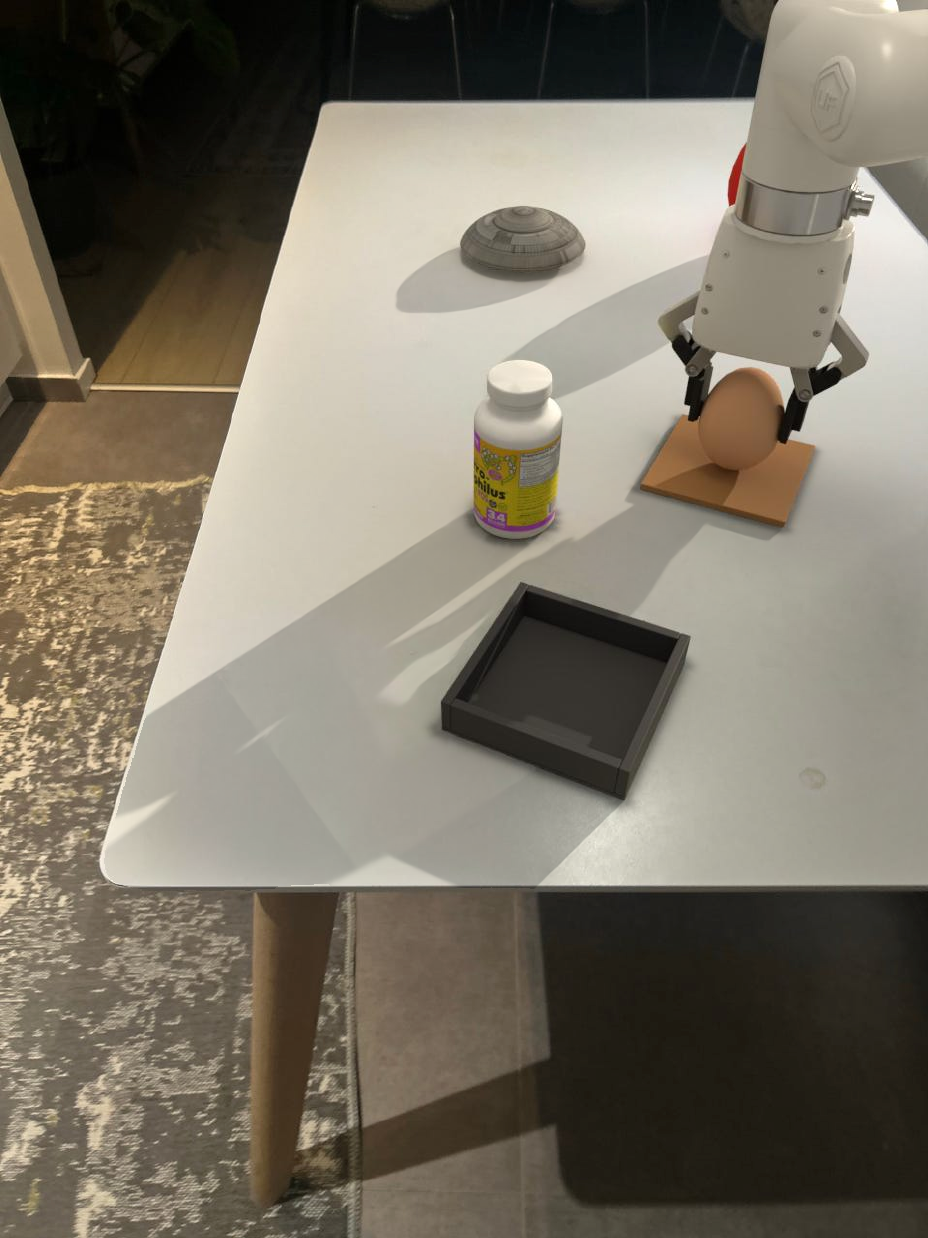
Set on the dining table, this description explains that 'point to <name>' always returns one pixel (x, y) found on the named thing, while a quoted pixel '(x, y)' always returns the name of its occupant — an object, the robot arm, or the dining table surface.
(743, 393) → the egg
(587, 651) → the tray
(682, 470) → the plate
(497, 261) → the flying saucer
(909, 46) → the robot arm
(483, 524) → the supplement bottle
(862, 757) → the dining table surface
